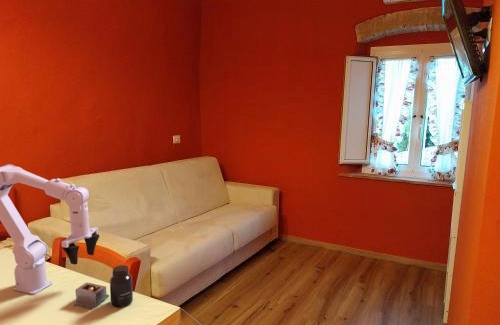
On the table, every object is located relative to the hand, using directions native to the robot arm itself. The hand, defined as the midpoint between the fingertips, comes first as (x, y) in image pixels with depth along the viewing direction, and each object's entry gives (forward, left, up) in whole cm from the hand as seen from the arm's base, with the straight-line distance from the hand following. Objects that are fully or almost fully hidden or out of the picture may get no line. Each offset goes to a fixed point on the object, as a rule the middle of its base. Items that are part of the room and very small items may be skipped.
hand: (82, 259), depth 122 cm
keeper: (+9, -7, -10) cm, 15 cm away
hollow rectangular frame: (+9, -7, -10) cm, 15 cm away
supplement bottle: (+19, -4, -11) cm, 22 cm away
